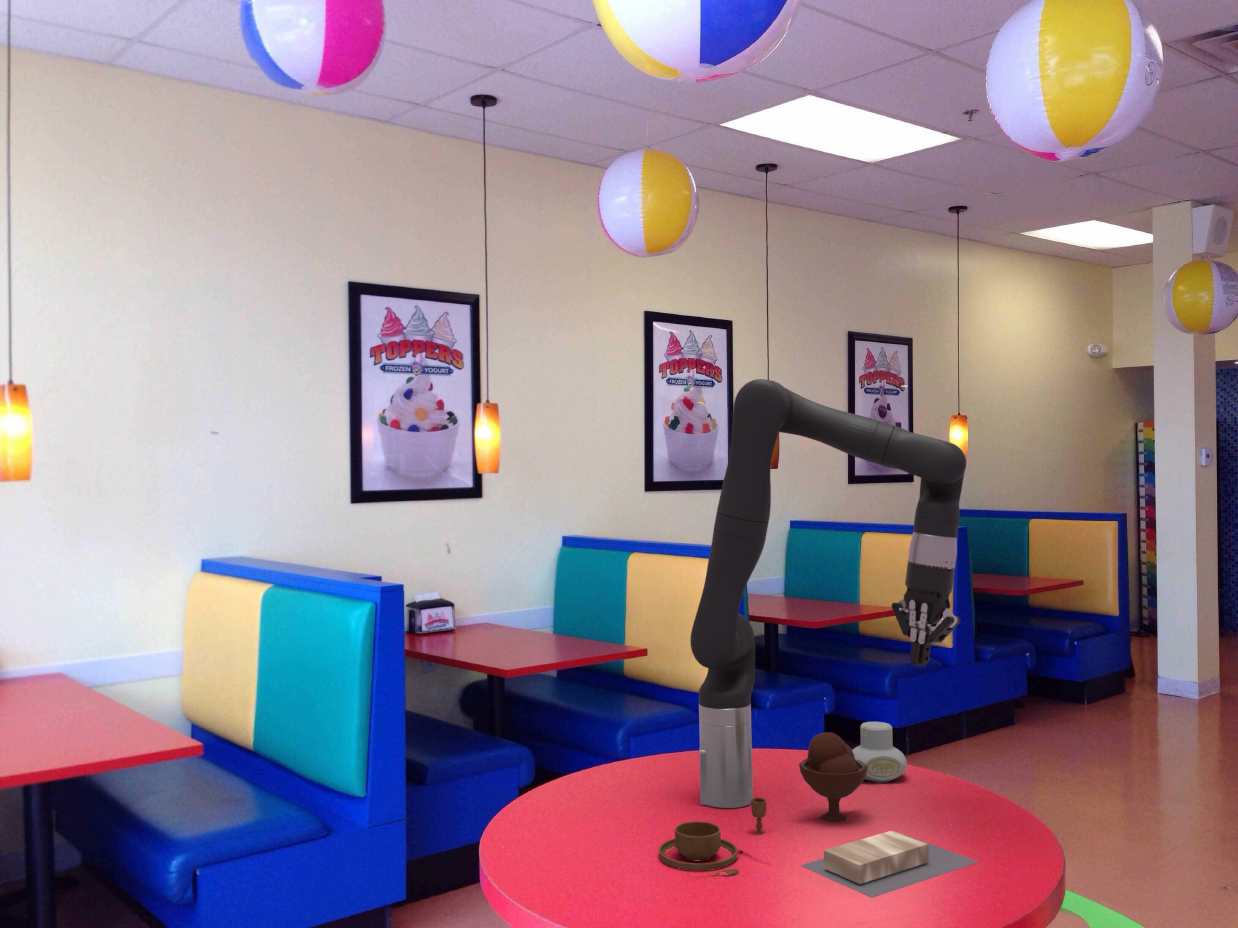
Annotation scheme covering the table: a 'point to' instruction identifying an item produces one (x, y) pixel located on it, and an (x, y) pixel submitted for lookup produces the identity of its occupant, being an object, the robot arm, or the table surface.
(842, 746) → the ice cream bowl
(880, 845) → the tile
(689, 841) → the place setting
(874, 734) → the air freshener
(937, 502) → the robot arm
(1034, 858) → the table surface
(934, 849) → the mat
